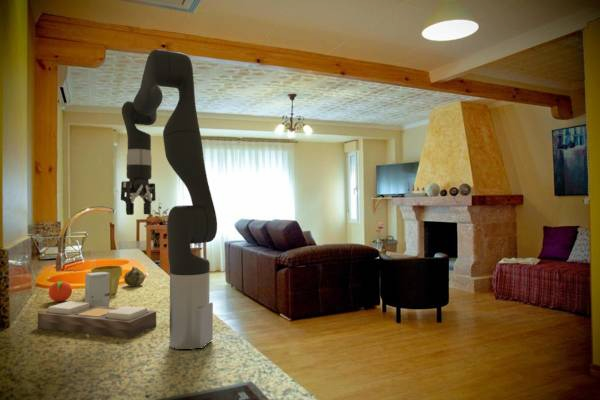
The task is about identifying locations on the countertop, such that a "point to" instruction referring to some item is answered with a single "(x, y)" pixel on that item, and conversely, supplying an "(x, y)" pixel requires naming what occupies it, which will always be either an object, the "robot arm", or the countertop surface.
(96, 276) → the skincare box
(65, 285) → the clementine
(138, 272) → the onion
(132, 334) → the keypad
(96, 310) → the key amber
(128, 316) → the key inner
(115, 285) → the plant pot
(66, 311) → the key outer
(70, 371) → the countertop surface
